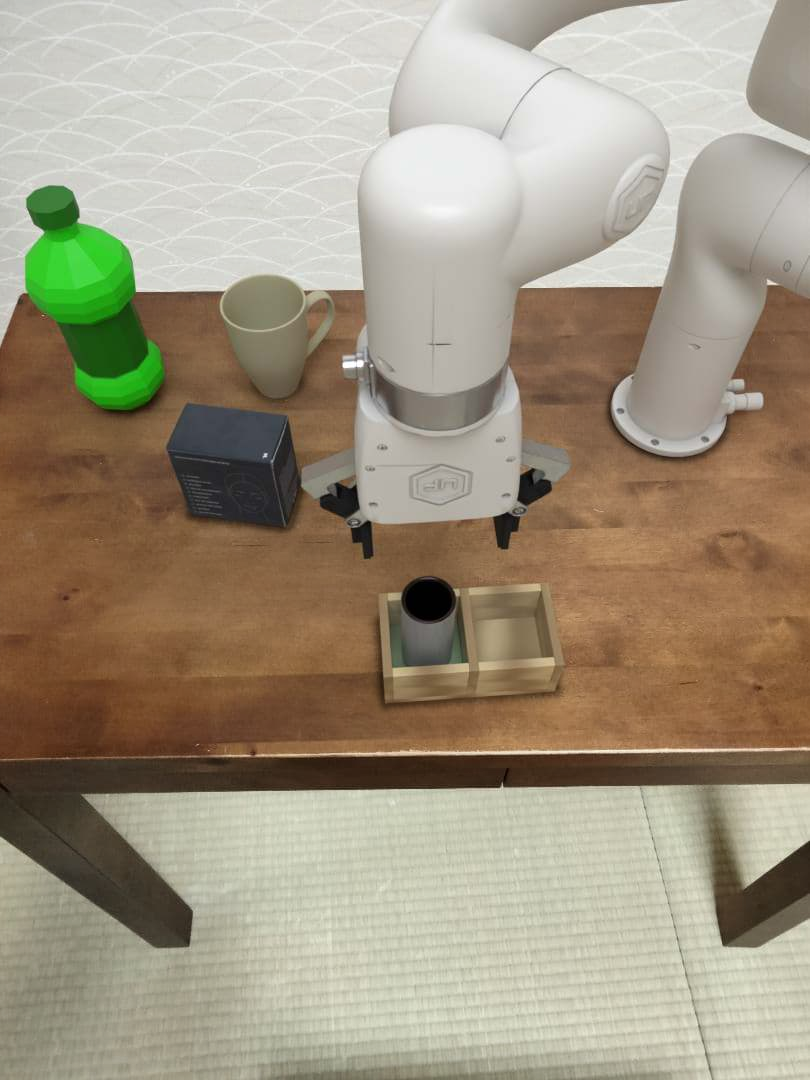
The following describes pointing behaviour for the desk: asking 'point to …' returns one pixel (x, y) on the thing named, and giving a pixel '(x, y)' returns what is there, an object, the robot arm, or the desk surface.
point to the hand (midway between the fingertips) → (434, 537)
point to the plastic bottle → (91, 302)
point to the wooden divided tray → (479, 646)
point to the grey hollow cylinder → (427, 621)
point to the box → (235, 464)
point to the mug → (272, 329)
